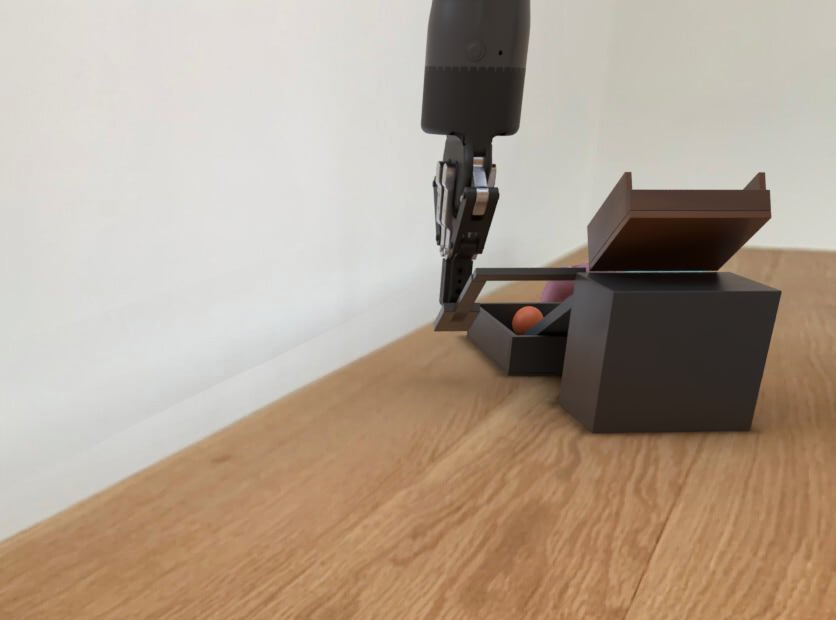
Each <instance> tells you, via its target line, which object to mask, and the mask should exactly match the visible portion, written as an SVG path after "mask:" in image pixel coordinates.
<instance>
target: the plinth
mask: <svg viewBox="0 0 836 620" xmlns="http://www.w3.org/2000/svg"><path fill="white" fill-rule="evenodd" d="M782 292H783V291H782V290H781V289H778V288H775V287H772V286H769V285H767V284H764V283H761V282H759V281H756V280H754V279H750V278H748V277H745V276H742V275H740V274H737V273H734V272H732V271H708V272H577V273H576V278H575V285H574V293H573V300H572V308H571V315H570V322H569V330H568V337H567V344H566V352H565V359H564V366H563V374H562V375H561V382H560V388H559V389H560V390H559V397H558V405H559V406H560V407H561V408H562V409H563V410H565V412H567V413H568V414H569V415H570V416H572V418H574V419H575V420H576V422H579V424H581V426H582V427H584V428H585V429H586V430H587V431H589V433H591V434H593V435H595V434H597V435H598V434H654V433H655V434H657V433H659V434H660V433H661V434H663V433H666V434H667V433H723V432H724V433H727V432H728V433H729V432H731V433H732V432H751V430H752V425H753V420H754V415H755V412H756V407H757V404H758V403H757V402H758V398H759V394H760V389H761V386H762V380H763V377H764V372H765V368H766V363H767V359H768V355H769V350H770V345H771V342H772V337H773V332H774V328H775V324H776V319H777V315H778V311H779V306H780V302H781V298H782Z"/></svg>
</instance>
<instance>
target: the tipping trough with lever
mask: <svg viewBox="0 0 836 620" xmlns="http://www.w3.org/2000/svg"><path fill="white" fill-rule="evenodd" d="M632 174H633V173H632V171H624V172H623V173H622V175H621V176H620V178H619V179H618V181H617V183H616V184H615V186H614V187H612V190H611V191H610V193H609V194H608V195H607V197H606V198H605V200H604V201H603V203H602V204H601V206H600V207H599V208H598V210H597V211H596V212H595V214H594V216H593V217H592V218H591V220H590V221H589V222H588V224H587V225H586V231H587V232H586V234H587V252H588V253H587V255H588V263H589V271H590V272H606V271H708V272H719V271H720V269H721V268H723V266H725V265H726V264H727V262H728V261H730V260H731V259H732V258H733V256H735V255H736V254H737V253H738V252H739V251H740V249H742V248H743V247H744V246H745V245H746V244H747V243H748V242H749V241H750V240H751V239H752V238H753V237H754V236H755V235H756V234H757V233H758V232H759V231H760V230H761V229H762V228H763V227H764V226H765V225H766V224H767V223H768V222H769V221H770V220H771V219H772V202H771V201H772V200H771V190H770V189H767V182H766V181H767V180H766V179H767V178H766V172H765V171H758V172H757V173H756V175H755V176H754V177H752V179H751V180H750V181H749V182H748V183H747V184H746V186H745V187H744V188H743V189H639V188H637V189H634V188H633V175H632ZM577 272H586V267H572V268H560V267H475V269H474V270H473V271H472V274H471V276H470V278H469V279H468V281H467V283H466V285H465V287H464V289H463V291H462V293H461V294H460V296H459V298H458V300H457V302H456V303H443V305H441V308H440V309H439V312H438V313H437V315H436V317H435V320H434V321H433V332H467V331H469V329H470V328H471V326H472V324H473V323H474V321H475V319H476V318H477V316H478V314H479V312H480V303H481V302H476V301H477V299H478V297H479V296H480V293H481V292H482V290H483V289H484V287H485V285H486V283H487V282H512V281H513V282H542V281H543V282H547V281H575V278H576V273H577Z"/></svg>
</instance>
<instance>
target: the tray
mask: <svg viewBox="0 0 836 620" xmlns="http://www.w3.org/2000/svg"><path fill="white" fill-rule="evenodd" d="M479 303H480V312H479V314H478V316H477V318H476V319H475V321H474V323H473V324H472V326H471V328H470V329H469V331H466V339H467V340H469V342H470V343H472V344H473V345H474V346H475V347H476V348H477V349H478V350H479V351H480V352H482V353H483V355H485V356H486V357H487V358H488V359H489V360H490V362H492V363H494V365H496V367H498V368H499V369H500V370H501V371H502V372H503V373H504V374H505V375H507V376H508V377H515V376H516V377H517V376H519V377H520V376H523V377H526V376H529V377H531V376H562V374H563V366H564V359H565V352H566V344H567V337H568V335H516V334H515V332H514V330H513V327H512V321H513V318H514V315H515V314H516V313H517V311H519V310H520V309H521V308H523V307H527V306H531V307H535V308H537V309H538V310H539V311H540V312H541V313H542V315H543V318H544V317H545V316H547V315H548V314H549V313H550V312H552V311H553V310H554V309H555V308H556V307H558V306H559V305H560V304H561V303H563V302H539V301H535V302H534V301H530V302H523V301H522V302H521V301H519V302H479Z"/></svg>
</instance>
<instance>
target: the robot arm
mask: <svg viewBox="0 0 836 620" xmlns="http://www.w3.org/2000/svg"><path fill="white" fill-rule="evenodd" d="M531 19H532V17H531V0H431V6H430V11H429V16H428V23H427V31H426V43H425V56H424V57H425V58H424V74H423V85H422V87H423V88H422V99H421V100H422V102H421V114H420V115H421V117H420V129H421V130H422V131H423V132H424V133H425V134H428V135H439V136H446V139H445V142H444V148H443V154H442V160H438V161H437V162H436V167H435V175H434V176H433V180H432V185H431V186H432V188H433V205H434V222H435V242H436V246H439V248H438V250H439V254H440V258H442V260H441V261H442V263H441V273H440V285H439V297H438V303H439V305H440V306H442V305H443V303H456V302H457V300H458V298H459V296H460V294H461V293H462V291H463V289H464V287H465V285H466V283H467V281H468V279H469V278H470V276H471V274H473V267H474V261H476V260H477V259H478V258H477V257H478V256H479V255H482V254H483V253H484V250H485V245H486V242H487V240H488V236H489V233H490V229H491V226H492V223H493V219H494V216H495V212H496V209H497V206H498V202H499V200H500V197H501V195H500V194H501V193H500V189H499V187H498V186H495V185H496V179H497V178H496V177H497V164H496V163H493V139H494V138H496V137H509V136H510V137H511V136H514V135H516V134H517V133H518V131H519V129H520V126H521V118H522V109H523V100H524V91H525V89H524V88H525V82H526V81H525V80H526V73H527V72H526V71H527V63H528V54H529V44H530V35H531V21H532V20H531Z"/></svg>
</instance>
